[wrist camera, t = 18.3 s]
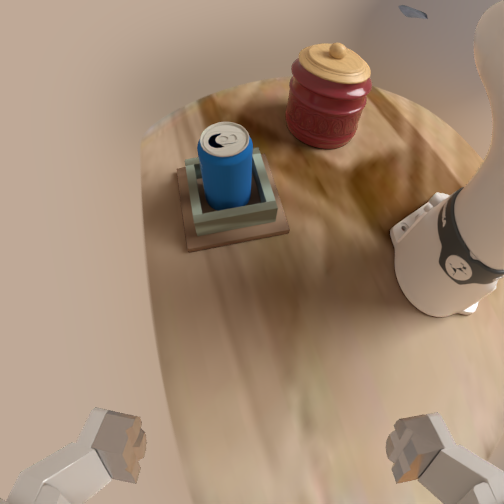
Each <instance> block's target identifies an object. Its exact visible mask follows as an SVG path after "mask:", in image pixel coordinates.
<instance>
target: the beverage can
mask: <svg viewBox="0 0 504 504" xmlns="http://www.w3.org/2000/svg"><path fill="white" fill-rule="evenodd" d="M197 149H198V156H199V162H200V168H201V174H202V180H203V186H204V192H205V198H206V201H207V203H208V204H209V205H210V206H211V207H212V208H213V209H215V210H217V211H219V210H225V209H230V208H236V207H241V206H245V205H246V204H247V203H248V202H249V200H250V197H251V178H252V153H253V143H252V140H251V138H250V136H249V134H248V132H247V130H246V129H245V128H244V127H243V126H241V125H239V124H236V123H233V122H219V123H215V124H213V125H211V126H209V127H207V128H206V129H205V130H204V131H203V132H202V134H201V137H200V140H199V142H198V147H197Z"/></svg>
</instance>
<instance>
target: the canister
mask: <svg viewBox="0 0 504 504" xmlns="http://www.w3.org/2000/svg"><path fill="white" fill-rule="evenodd" d="M291 69H292V74H293V77H292V78H291V80H290V83H289V86H290V91H289V98H288V105H287V107H286V113H285V118H286V124H287V127H288V129H289V131H290V132H291V133H292V134H293V135H294V136H295V137H296V138H297V139H299V140H300V141H302V142H303V143H306V144H308V145H310V146H313V147H317V148H323V149H333V148H339V147H342V146H344V145H346V144H347V143H348V142H349V141H350V140H351V138H352V137H353V136H354V134H355V132H356V130H357V126H358V121H359V118H360V116H361V113H362V110H363V108H364V107H365V105H366V95H367V94H368V93H369V92H370V91H371V88H372V82H371V79H370V73H371V72H370V68H369V66H368V64H367V63H366V62H365V61H364V60H363V59H362V58H361V57H359V55H357V54H356V53H355V52H353V51H352V50H350V49H347V48H346V47H345V46H344V45H343V44H341V43H333V44H317V45H314V46H309V47H306V48H304V49H303V50H302V51H301V52H300V53H299V58H298V59H296V60H295V61H294V62H293V64H292V68H291Z"/></svg>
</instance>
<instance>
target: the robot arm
mask: <svg viewBox="0 0 504 504" xmlns="http://www.w3.org/2000/svg"><path fill="white" fill-rule="evenodd" d="M473 48H474V58H475V63H476V67H477V70H478V73H479V76H480V78H481V80H482V82H483V85H484V87H485V89H486V92H487V95H488V98H489V101H490V106H491V111H492V121H493V131H492V140H491V144H490V147H489V150H488V153H487V155H486V157H485V159H484V160H483V162H482V164H481V165H480V167H479V168H478V170H477V171H476V173H475V174H474V176H473V177H472V178H471V179H470V181H469V182H468V183H467V184H466V186H465V187H462V188H460V189H459V190H457V191H456V192H454V193H453V194H452V195H450V196H449V195H447V194H444V193H438V192H437V193H436V194H435V195H433V196H432V198H431V199H430V200H429V201H428V202H427V203H426V204H425V205H423V206H422V207H420V208H419V209H418V210H416V211H415V212H413V213H412V214H410V215H409V216H407V217H406V218H405V219H403V220H402V221H400V222H399V223H397V224H396V225H395V226H393V227H392V228H391V230H390V236H391V239H392V242H393V245H394V248H395V272H396V276H397V280H398V282H399V285H400V287H401V289H402V291H403V293H404V294H405V296H406V297H407V298H408V300H409V301H410V302H411V303H412V304H413V305H414V306H415V307H416V308H418V309H419V310H420V311H422V312H424V313H426V314H428V315H431V316H435V317H445V316H449V315H452V314H456V313H460V314H464V315H470V314H472V313H474V312H475V311H476V308H477V305H478V302H479V301H480V300H481V299H483V298H484V297H486V296H487V295H489V294H490V293H492V292H493V291H494V290H495V289H496V284H497V281H498V279H501V278H502V277H504V0H503V1H500V2H498V3H496V4H494V5H493V6H491V7H490V8H489V9H488V10H487V11H486V12H485V13H484V14H483V16H482V17H481V18H480V20H479V22H478V24H477V27H476V31H475V35H474V46H473ZM402 228H403V229H404V231H403V230H402ZM141 425H142V422H141V419H140V417H137V416H133V415H128V414H123V413H118V412H114V411H110V410H105V409H101V408H97V407H95V408H94V409H93V410H92V411H91V413H90V415H89V417H88V419H87V421H86V423H85V425H84V427H83V429H82V431H81V433H80V435H79V437H78V439H77V442H76V443H70V444H69V445H67V446H65V447H63V448H62V449H60V450H58V451H57V452H55V453H53V454H52V455H50V456H48V457H47V458H45V459H43V460H41V461H39V462H38V463H36V464H34V465H32V466H31V467H29V468H27V469H25V470H23V471H22V472H20V474H19V476H18V479H17V480H16V482H15V484H14V486H13V488H12V490H11V492H10V495H9V497H8V499H7V501H5V500H3V499H1V498H0V504H84V503H85V502H86V501H88V500H89V499H90V498H91V497H93V496H94V495H95V494H96V493H97V492H98V491H100V490H101V489H102V488H103V487H104V486H106V485H107V484H108V483H109V482H110V481H111V480H112V479H116V480H120V481H125V482H130V483H135V484H136V483H137V480H138V476H139V473H140V469H141V467H140V465H139V462H138V461H139V460H140V459H142V458H144V455H145V451H146V443H147V442H146V435H145V432H144V431H143V430H142V429H141ZM394 427H395V431H393V432H392V433H391V434H389V437H388V439H387V442H386V453H387V456H388V459H389V460H391V461H392V462H393V463H394V464H393V467H392V472H393V475H394V478H395V481H396V484H397V483H402V482H407V481H412V480H416V479H418V481H419V482H420V483H421V484H422V485H423V486H424V487H426V488H427V489H428V490H429V491H430V492H431V493H432V494H433V495H434V496H436V497H437V498H438V499H439V500H440V501H441V502H442V503H443V504H504V471H502V470H501V469H499V468H497V467H496V466H494V465H492V464H491V463H489V462H487V461H486V460H484V459H483V458H481V457H479V456H478V455H476V454H474V453H473V452H471V451H470V450H468V449H466V448H465V447H463V446H462V445H456V443H455V441H454V439H453V437H452V435H451V433H450V431H449V429H448V428H447V426H446V424H445V422H444V420H443V418H442V416H441V415H440V414H439V413H438V412H436V413H431V414H426V415H419V416H413V417H408V418H402V419H399V420H398V421H396V423H395V425H394Z"/></svg>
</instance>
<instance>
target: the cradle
mask: <svg viewBox="0 0 504 504" xmlns="http://www.w3.org/2000/svg"><path fill="white" fill-rule="evenodd" d="M185 166H186V167H184V168H179V169H177V175H178V184H179V192H180V199H181V207H182V214H183V222H184V229H185V236H186V242H187V249H188V252H193V251H198V250H203V249H208V248H214V247H219V246H224V245H229V244H234V243H239V242H245V241H250V240H255V239H260V238H265V237H271V236H276V235H281V234H287V233H289V231H290V229H289V226H288V222H287V219H286V216H285V213H284V210H283V207H282V204H281V201H280V197H279V194H278V191H277V188H276V185H275V182H274V179H273V176H272V173H271V170H270V167H269V164H268V161H267V158H266V155H265V154H260V151H259V148H253V153H252V178H251V197H250V200H249V202H248V203H247V204H246V205H245V206H241V207H236V208H230V209H225V210H219V211H217V210H215V209H213V208H212V207H211V206H210V205H209V204H208V203H207V201H206V198H205V192H204V186H203V180H202V174H201V168H200V162H199V157H197V158H192V159H187V160H185Z"/></svg>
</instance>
